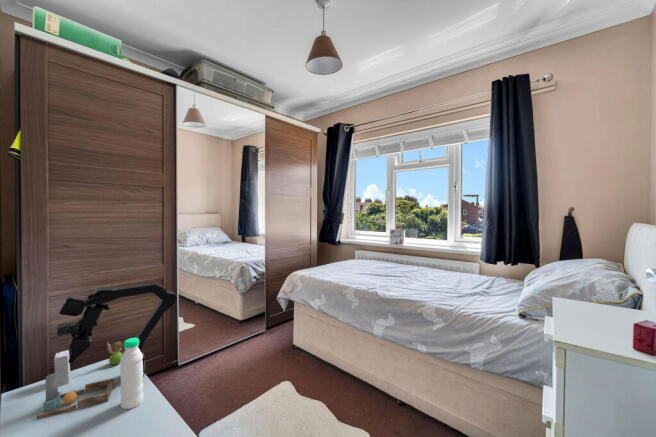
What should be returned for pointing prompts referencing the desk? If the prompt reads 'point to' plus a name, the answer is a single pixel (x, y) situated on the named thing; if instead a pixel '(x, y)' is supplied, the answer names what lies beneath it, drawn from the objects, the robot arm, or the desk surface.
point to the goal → (85, 401)
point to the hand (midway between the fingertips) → (70, 357)
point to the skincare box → (62, 367)
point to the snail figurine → (115, 352)
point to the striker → (51, 393)
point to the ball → (69, 397)
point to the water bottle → (131, 374)
